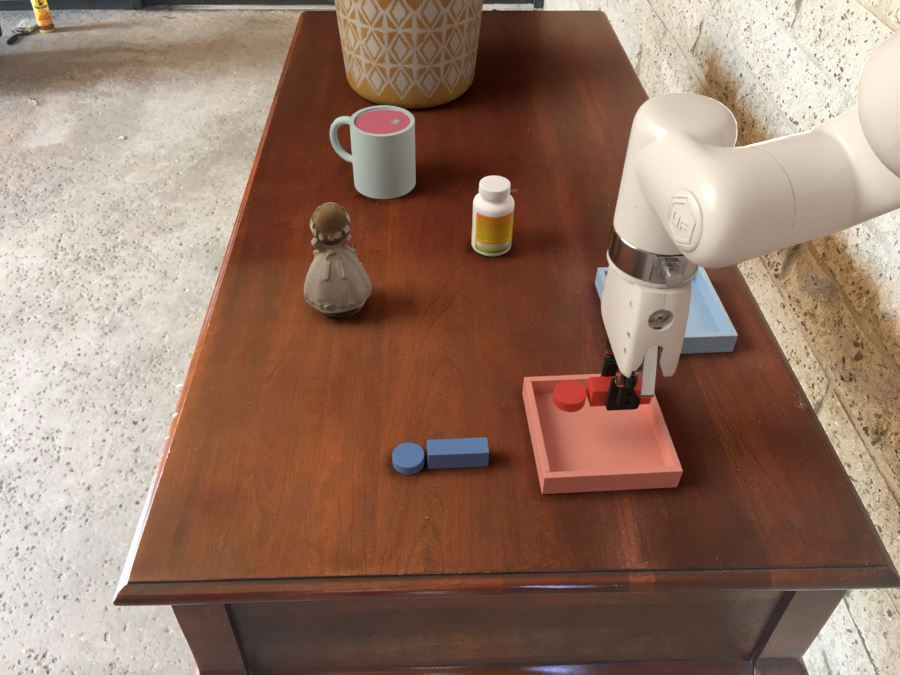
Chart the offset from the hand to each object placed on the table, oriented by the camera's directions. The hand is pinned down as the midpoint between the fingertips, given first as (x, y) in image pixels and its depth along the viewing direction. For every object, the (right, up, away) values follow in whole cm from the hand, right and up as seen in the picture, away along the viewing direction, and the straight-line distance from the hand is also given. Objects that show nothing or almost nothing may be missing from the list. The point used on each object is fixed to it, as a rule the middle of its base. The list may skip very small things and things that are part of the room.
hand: (618, 396), depth 77 cm
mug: (-28, +30, +41) cm, 58 cm away
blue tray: (+9, +8, +18) cm, 22 cm away
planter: (-24, +52, +64) cm, 86 cm away
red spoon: (-2, 0, 0) cm, 2 cm away
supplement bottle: (-11, +18, +28) cm, 35 cm away
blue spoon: (-17, -7, +1) cm, 19 cm away
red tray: (-2, -5, +4) cm, 6 cm away
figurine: (-30, +9, +18) cm, 36 cm away
